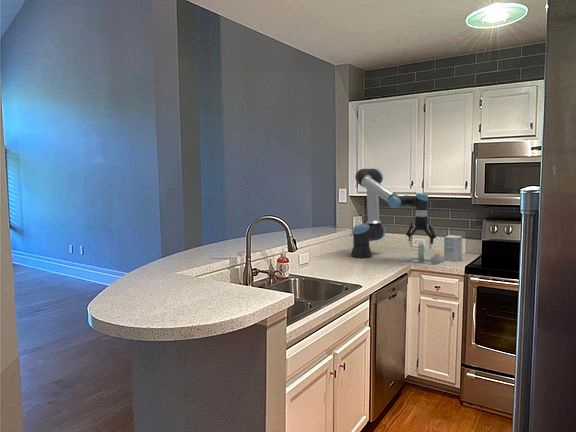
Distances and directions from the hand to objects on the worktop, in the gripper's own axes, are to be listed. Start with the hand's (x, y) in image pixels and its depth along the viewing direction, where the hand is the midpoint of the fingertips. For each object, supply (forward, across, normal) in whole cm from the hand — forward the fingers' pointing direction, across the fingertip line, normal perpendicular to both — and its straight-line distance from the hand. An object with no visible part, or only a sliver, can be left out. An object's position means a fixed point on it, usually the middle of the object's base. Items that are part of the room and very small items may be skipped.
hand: (420, 247), depth 283 cm
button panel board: (+10, +2, +2) cm, 10 cm away
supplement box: (+10, +15, +18) cm, 26 cm away
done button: (+8, +9, +6) cm, 13 cm away
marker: (+9, +1, 0) cm, 9 cm away
